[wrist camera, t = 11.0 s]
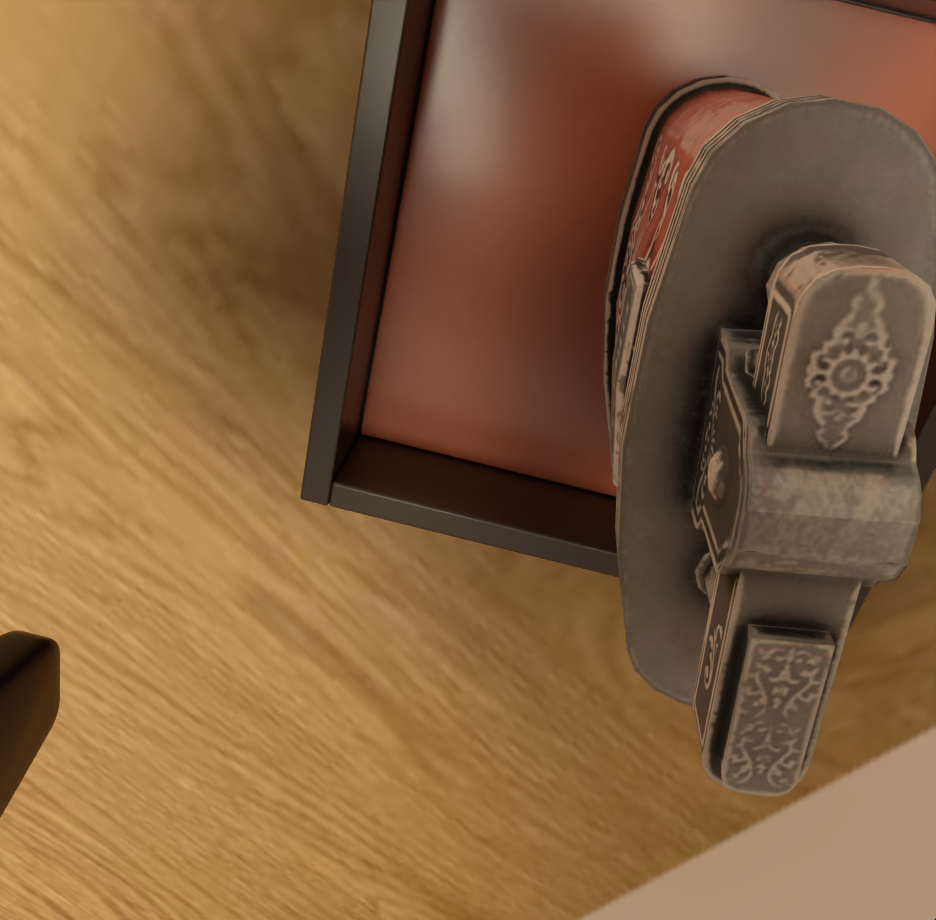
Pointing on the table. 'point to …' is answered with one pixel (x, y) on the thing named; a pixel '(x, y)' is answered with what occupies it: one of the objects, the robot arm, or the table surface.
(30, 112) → the table surface
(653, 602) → the lighter
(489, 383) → the divided tray
